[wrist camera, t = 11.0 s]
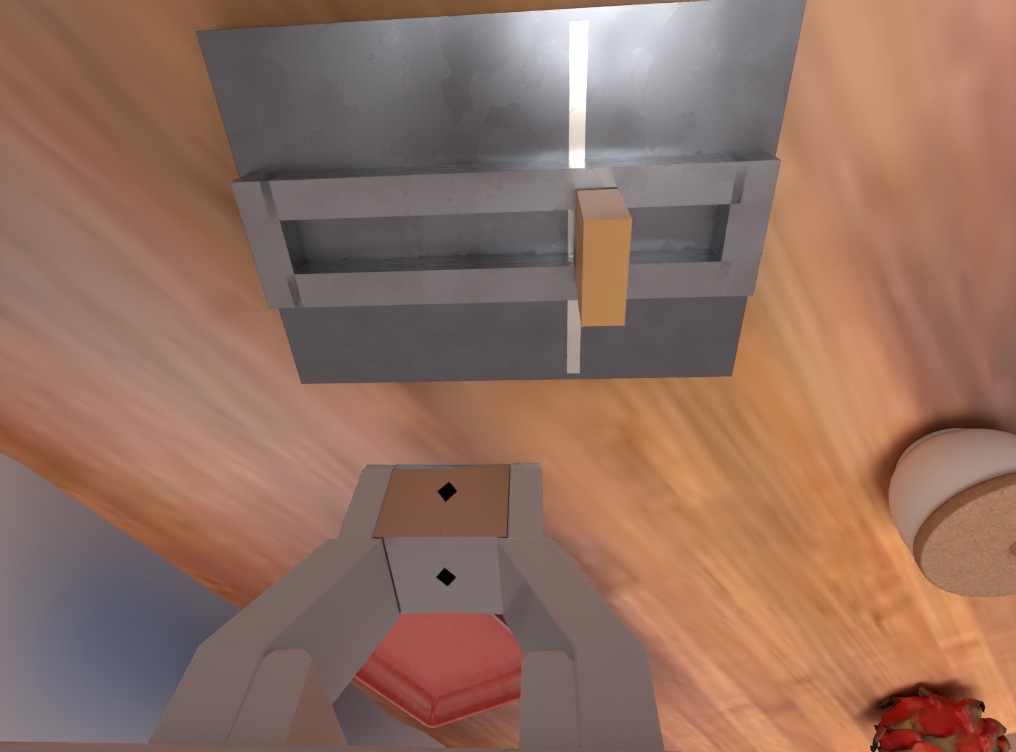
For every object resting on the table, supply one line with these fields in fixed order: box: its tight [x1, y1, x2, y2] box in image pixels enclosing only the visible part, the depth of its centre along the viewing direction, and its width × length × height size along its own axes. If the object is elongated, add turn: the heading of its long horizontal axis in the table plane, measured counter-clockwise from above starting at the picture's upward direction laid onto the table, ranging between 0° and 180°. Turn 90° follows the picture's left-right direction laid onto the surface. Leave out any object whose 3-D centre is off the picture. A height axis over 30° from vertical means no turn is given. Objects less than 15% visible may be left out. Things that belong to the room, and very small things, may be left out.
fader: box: [574, 189, 632, 326], centre depth 28 cm, size 2×5×7 cm, turn 3°
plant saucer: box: [354, 613, 525, 728], centre depth 55 cm, size 18×18×3 cm
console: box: [196, 0, 806, 384], centre depth 31 cm, size 28×20×4 cm
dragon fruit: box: [870, 686, 1011, 752], centre depth 55 cm, size 8×8×12 cm
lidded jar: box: [889, 428, 1016, 597], centre depth 37 cm, size 11×11×9 cm
